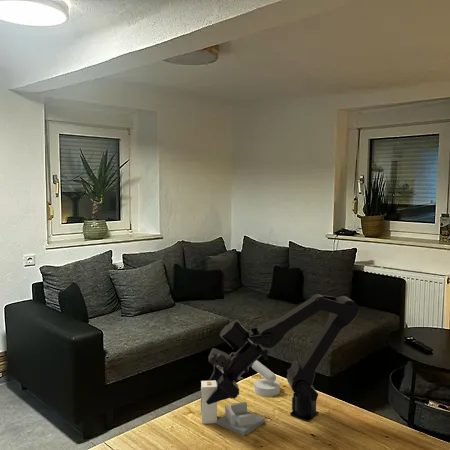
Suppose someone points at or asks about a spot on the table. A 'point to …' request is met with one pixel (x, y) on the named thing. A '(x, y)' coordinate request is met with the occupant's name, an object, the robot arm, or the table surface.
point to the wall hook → (265, 381)
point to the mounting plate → (243, 428)
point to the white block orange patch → (208, 409)
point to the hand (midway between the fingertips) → (206, 395)
